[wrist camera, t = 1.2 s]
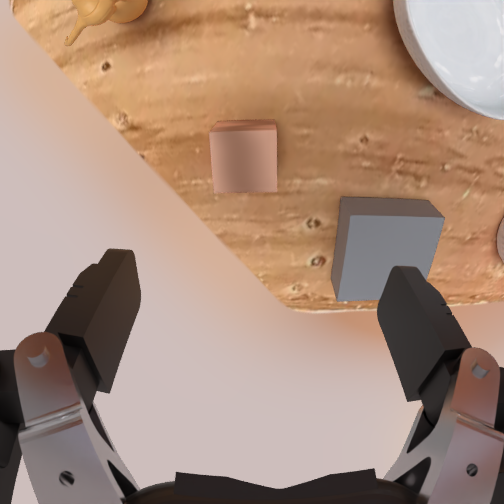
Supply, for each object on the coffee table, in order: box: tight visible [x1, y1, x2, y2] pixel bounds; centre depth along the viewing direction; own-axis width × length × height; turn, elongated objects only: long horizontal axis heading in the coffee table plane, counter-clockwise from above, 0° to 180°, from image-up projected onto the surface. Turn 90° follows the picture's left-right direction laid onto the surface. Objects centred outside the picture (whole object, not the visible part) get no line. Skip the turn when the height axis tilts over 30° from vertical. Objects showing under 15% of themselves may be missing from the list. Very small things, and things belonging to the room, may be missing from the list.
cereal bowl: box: [393, 0, 504, 120], centre depth 16 cm, size 17×17×7 cm
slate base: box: [331, 197, 445, 301], centre depth 31 cm, size 10×10×4 cm
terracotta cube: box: [209, 120, 277, 193], centre depth 26 cm, size 5×5×5 cm
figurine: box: [65, 0, 148, 46], centre depth 15 cm, size 8×6×12 cm
